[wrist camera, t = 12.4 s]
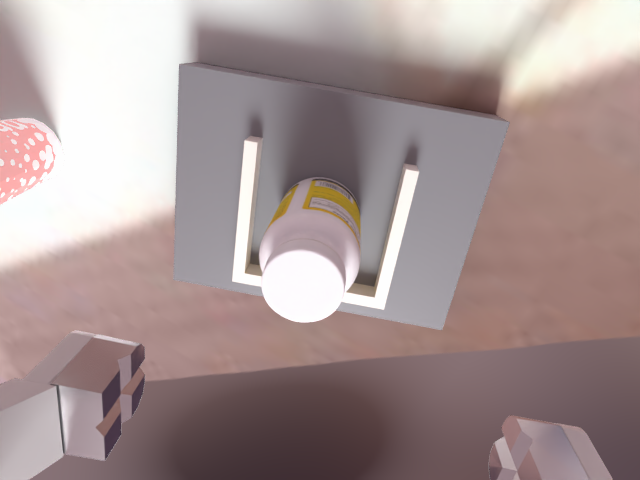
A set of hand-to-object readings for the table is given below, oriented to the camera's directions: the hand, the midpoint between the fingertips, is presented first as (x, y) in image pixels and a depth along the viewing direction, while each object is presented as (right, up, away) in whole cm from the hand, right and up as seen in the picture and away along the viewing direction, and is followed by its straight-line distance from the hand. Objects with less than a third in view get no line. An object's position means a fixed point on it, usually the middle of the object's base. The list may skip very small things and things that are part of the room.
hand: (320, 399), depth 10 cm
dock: (0, +7, +22) cm, 23 cm away
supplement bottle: (0, +5, +20) cm, 21 cm away
